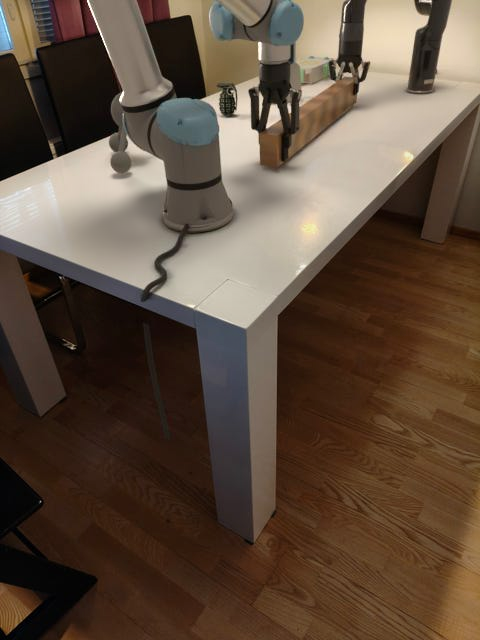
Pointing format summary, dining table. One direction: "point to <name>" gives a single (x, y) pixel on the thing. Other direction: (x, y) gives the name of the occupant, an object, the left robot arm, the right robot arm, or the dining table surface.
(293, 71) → the electronic device
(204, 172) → the left robot arm
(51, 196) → the dining table surface
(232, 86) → the grenade
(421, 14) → the right robot arm
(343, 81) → the beam
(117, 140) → the molecular model
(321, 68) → the decorative block
